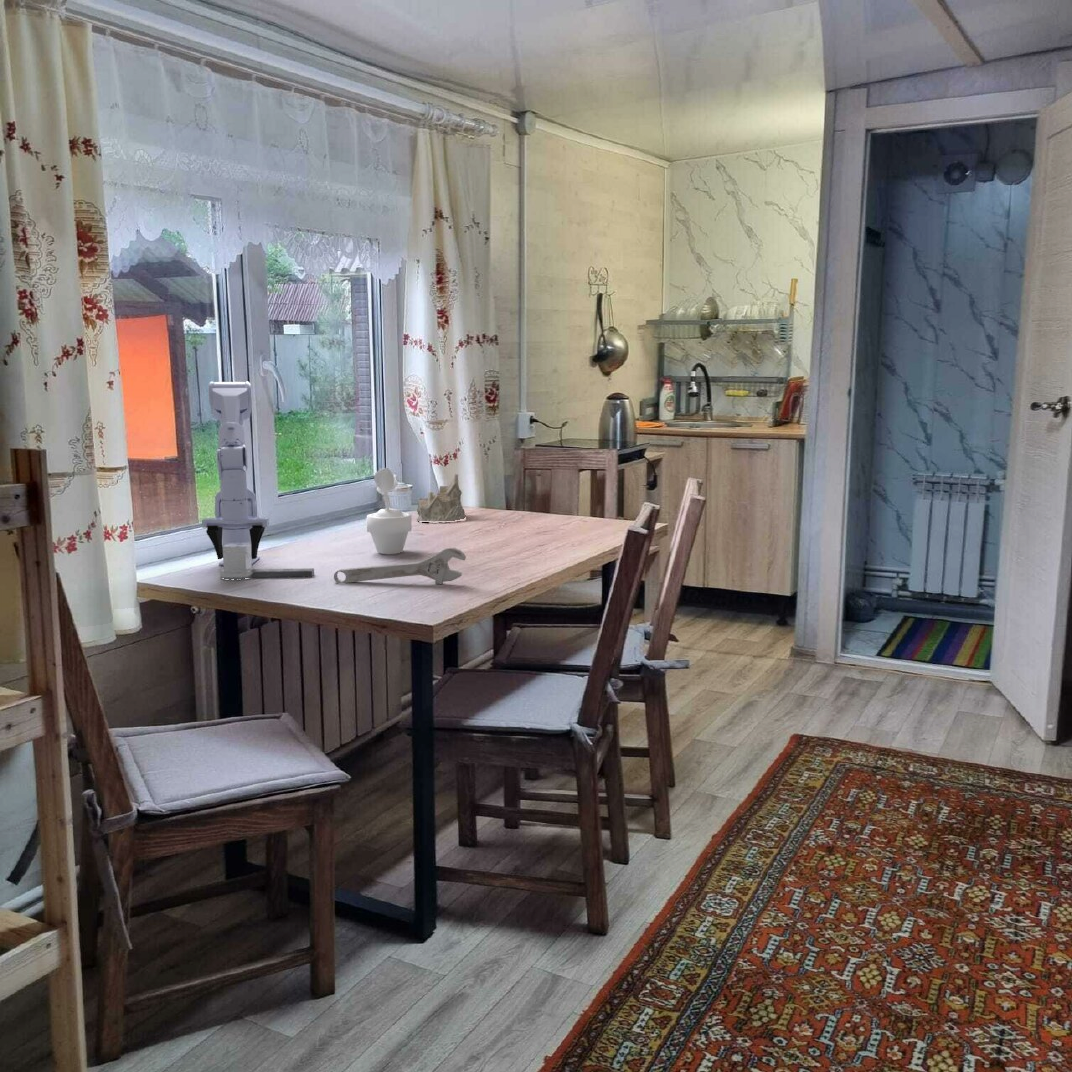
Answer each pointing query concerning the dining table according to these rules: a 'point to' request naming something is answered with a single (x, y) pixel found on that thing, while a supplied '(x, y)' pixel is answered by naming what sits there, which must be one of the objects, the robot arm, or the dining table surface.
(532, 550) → the dining table surface
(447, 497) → the ceramic cottage
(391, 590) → the dining table surface
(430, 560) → the wrench
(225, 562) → the brushed metal cube
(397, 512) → the potted plant
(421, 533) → the dining table surface
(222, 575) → the ratchet
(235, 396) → the robot arm
